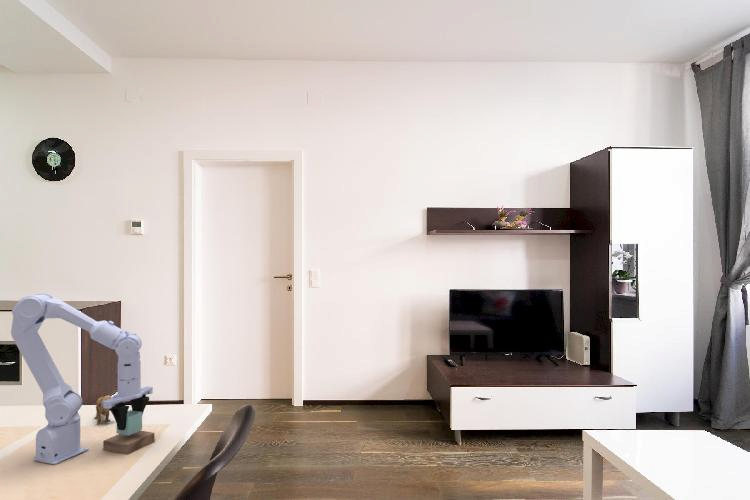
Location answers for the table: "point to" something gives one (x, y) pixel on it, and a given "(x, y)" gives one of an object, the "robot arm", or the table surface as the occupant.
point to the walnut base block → (128, 442)
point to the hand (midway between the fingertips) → (129, 426)
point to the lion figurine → (102, 409)
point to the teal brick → (132, 423)
